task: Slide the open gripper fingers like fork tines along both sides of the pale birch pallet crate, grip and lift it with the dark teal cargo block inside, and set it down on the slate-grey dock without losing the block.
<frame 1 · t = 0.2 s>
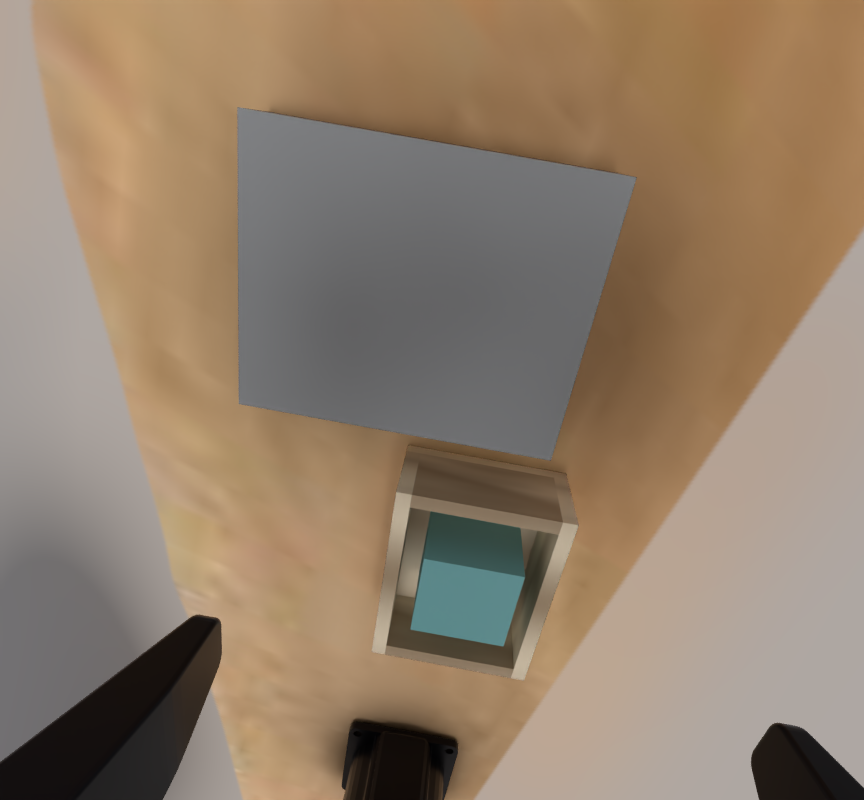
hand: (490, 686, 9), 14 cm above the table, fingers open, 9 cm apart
pallet crate: (468, 531, 26), on the table, touching cargo block
cargo block: (467, 545, 25), resting on pallet crate
dock: (420, 287, 20), on the table
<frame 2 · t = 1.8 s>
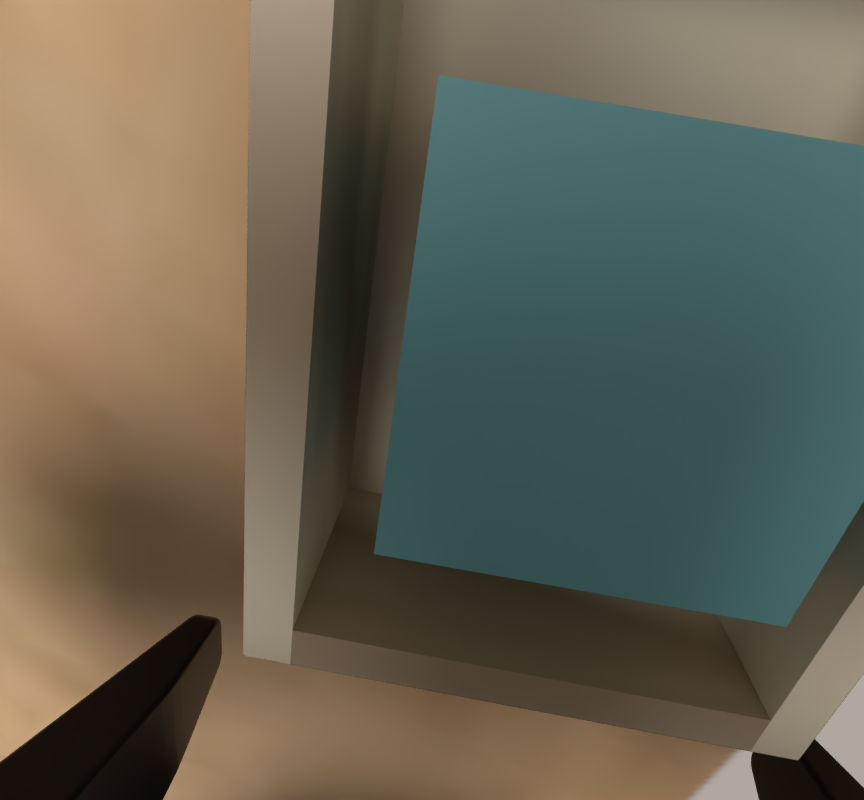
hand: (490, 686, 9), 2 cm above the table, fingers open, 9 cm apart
pallet crate: (569, 280, 8), on the table, touching cargo block
cargo block: (575, 297, 7), resting on pallet crate
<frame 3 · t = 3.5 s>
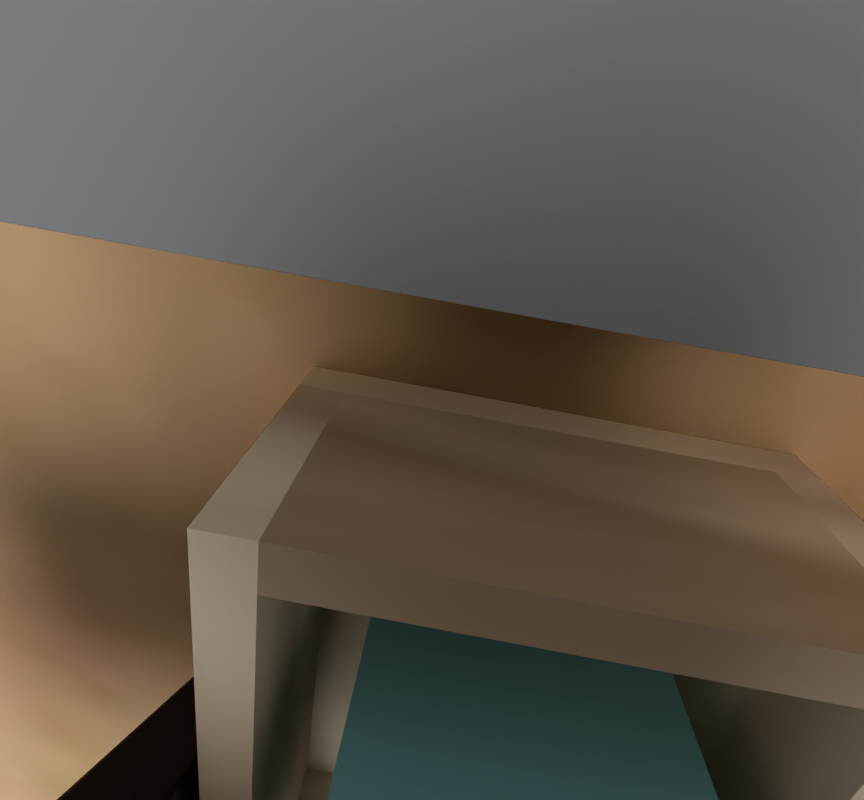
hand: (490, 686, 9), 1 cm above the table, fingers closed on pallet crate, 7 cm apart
pallet crate: (488, 616, 10), on the table, touching cargo block, gripper
cargo block: (489, 664, 9), point 1 cm above the table, touching pallet crate
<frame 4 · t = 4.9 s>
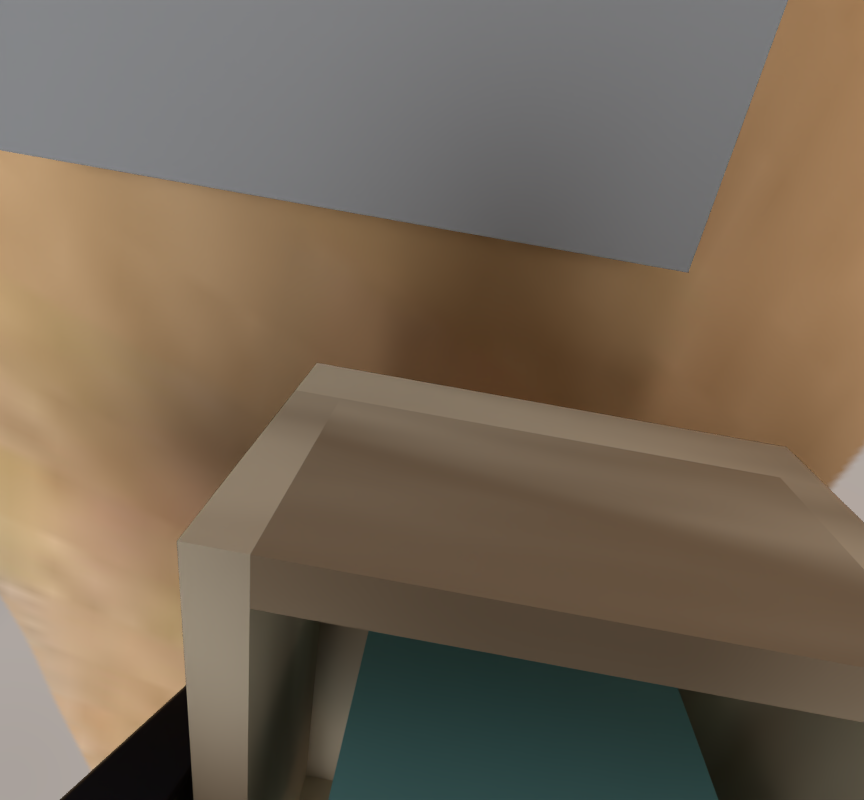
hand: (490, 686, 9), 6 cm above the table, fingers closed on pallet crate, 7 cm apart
pallet crate: (489, 622, 10), point 4 cm above the table, touching cargo block, gripper
cargo block: (490, 672, 9), point 5 cm above the table, touching pallet crate
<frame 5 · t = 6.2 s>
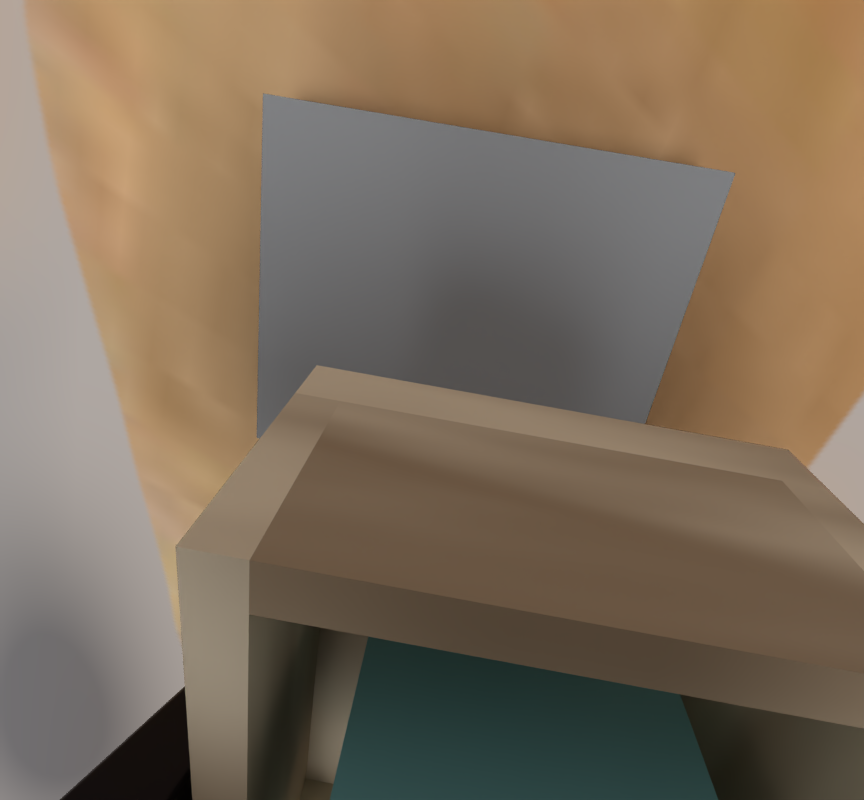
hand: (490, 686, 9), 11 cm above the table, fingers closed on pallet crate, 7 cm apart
pallet crate: (489, 624, 10), point 10 cm above the table, touching cargo block, gripper
cargo block: (491, 675, 9), point 11 cm above the table, touching pallet crate
dock: (465, 303, 18), on the table
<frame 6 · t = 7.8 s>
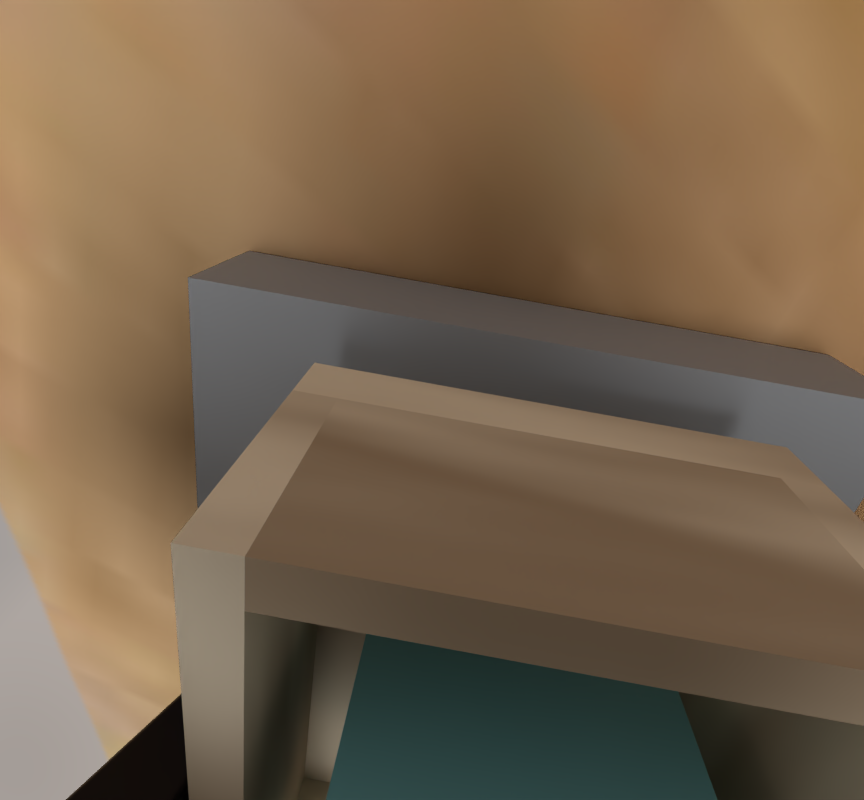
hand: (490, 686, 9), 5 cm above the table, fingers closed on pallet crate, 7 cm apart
pallet crate: (487, 623, 10), point 4 cm above the table, touching cargo block, gripper
cargo block: (489, 673, 9), point 5 cm above the table, touching pallet crate
dock: (487, 500, 13), on the table
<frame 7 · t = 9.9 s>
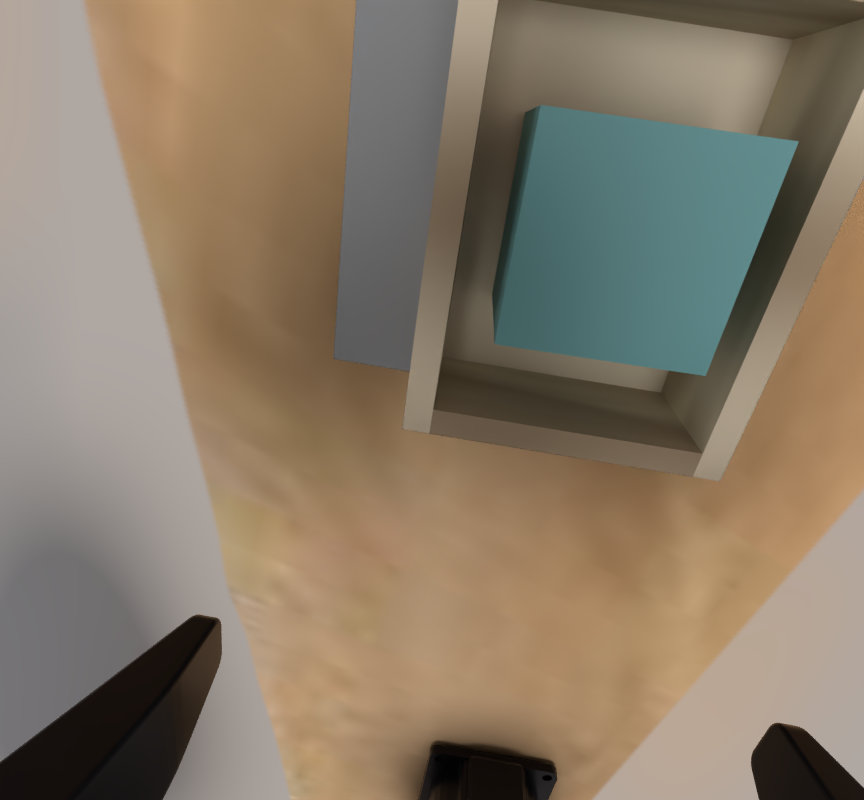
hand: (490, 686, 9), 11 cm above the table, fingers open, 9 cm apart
pallet crate: (584, 215, 13), point 2 cm above the table, touching cargo block, dock
cargo block: (593, 222, 12), point 3 cm above the table, touching pallet crate
dock: (570, 201, 15), on the table
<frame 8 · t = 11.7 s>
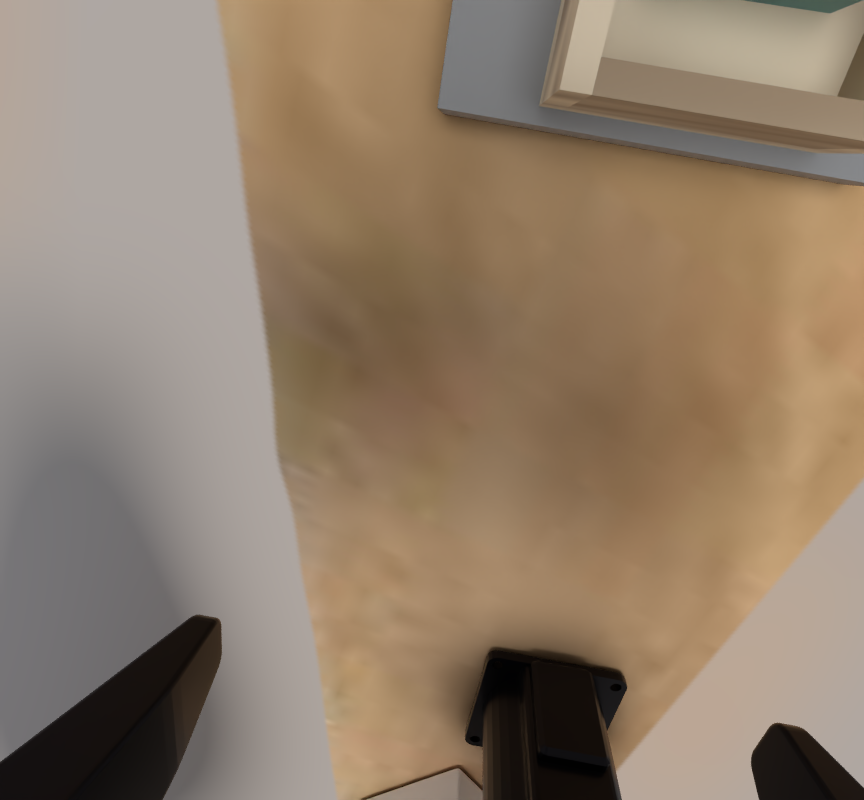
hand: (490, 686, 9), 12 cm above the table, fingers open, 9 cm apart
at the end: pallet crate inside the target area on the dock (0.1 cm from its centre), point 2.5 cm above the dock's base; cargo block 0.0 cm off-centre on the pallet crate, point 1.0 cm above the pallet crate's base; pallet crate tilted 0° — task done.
